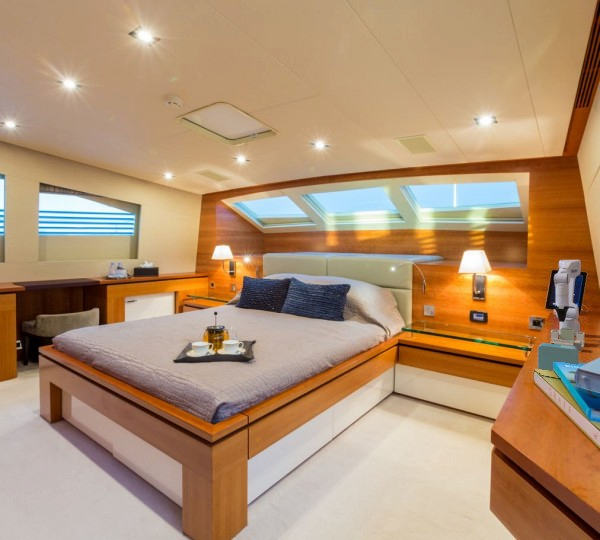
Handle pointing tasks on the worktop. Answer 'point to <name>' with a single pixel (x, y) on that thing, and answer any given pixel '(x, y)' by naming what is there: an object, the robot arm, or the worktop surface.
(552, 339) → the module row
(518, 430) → the worktop surface
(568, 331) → the green module
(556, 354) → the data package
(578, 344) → the block
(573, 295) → the robot arm
